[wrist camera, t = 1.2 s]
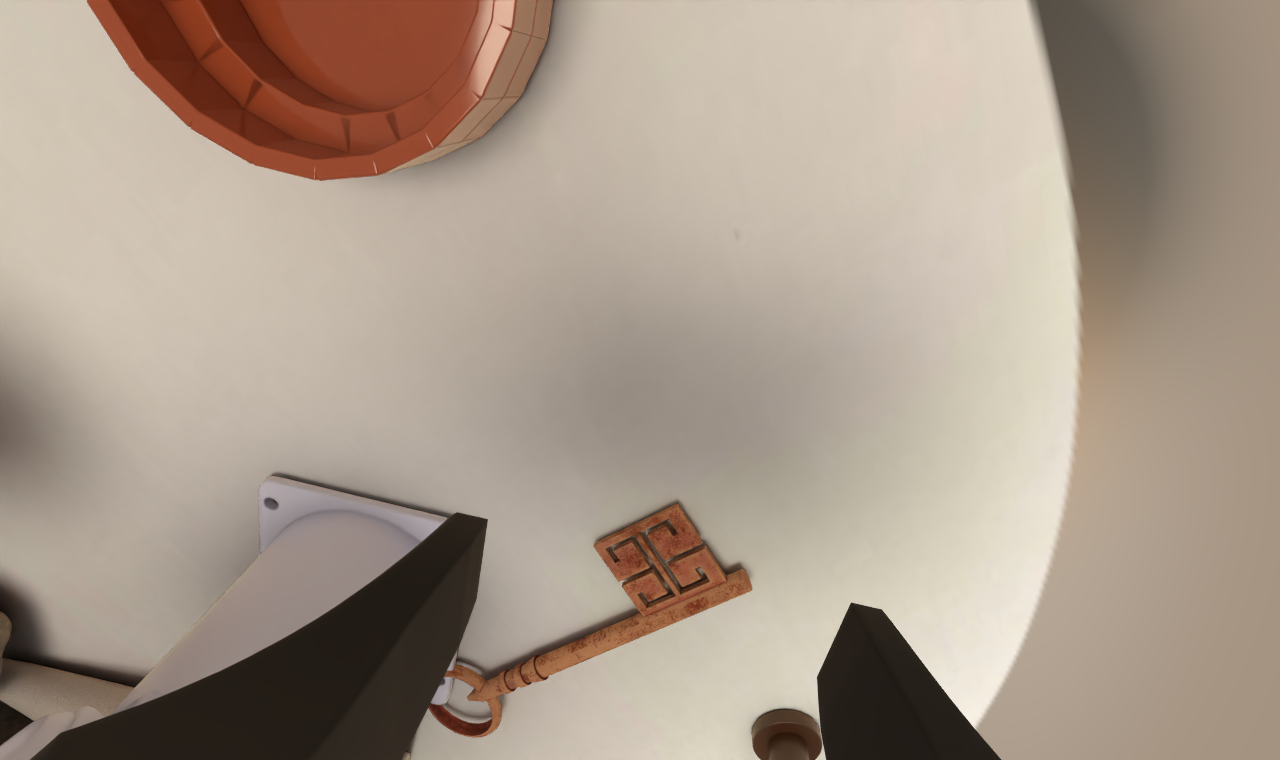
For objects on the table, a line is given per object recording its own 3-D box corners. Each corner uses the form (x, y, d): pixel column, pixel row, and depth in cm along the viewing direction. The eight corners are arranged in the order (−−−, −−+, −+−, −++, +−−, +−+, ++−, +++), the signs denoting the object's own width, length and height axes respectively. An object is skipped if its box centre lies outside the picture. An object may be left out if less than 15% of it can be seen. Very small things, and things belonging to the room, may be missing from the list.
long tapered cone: (8, 547, 28) (417, 732, 28) (45, 619, 32) (404, 781, 32) (-152, 670, 24) (333, 890, 24) (-85, 736, 28) (330, 924, 28)
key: (693, 490, 24) (383, 639, 28) (692, 503, 23) (372, 655, 27) (772, 611, 25) (464, 736, 29) (773, 628, 24) (456, 755, 28)
